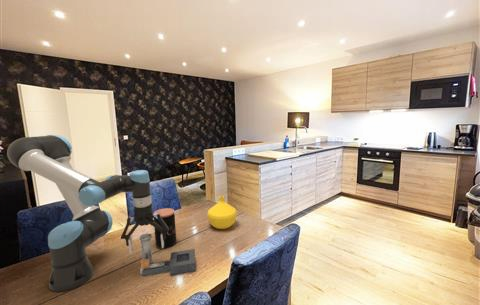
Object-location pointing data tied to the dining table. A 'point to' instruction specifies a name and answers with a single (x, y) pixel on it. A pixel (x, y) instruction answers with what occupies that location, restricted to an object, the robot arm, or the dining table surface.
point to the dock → (176, 264)
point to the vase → (222, 214)
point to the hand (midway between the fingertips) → (147, 249)
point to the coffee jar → (169, 219)
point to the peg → (146, 246)
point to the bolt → (150, 265)
